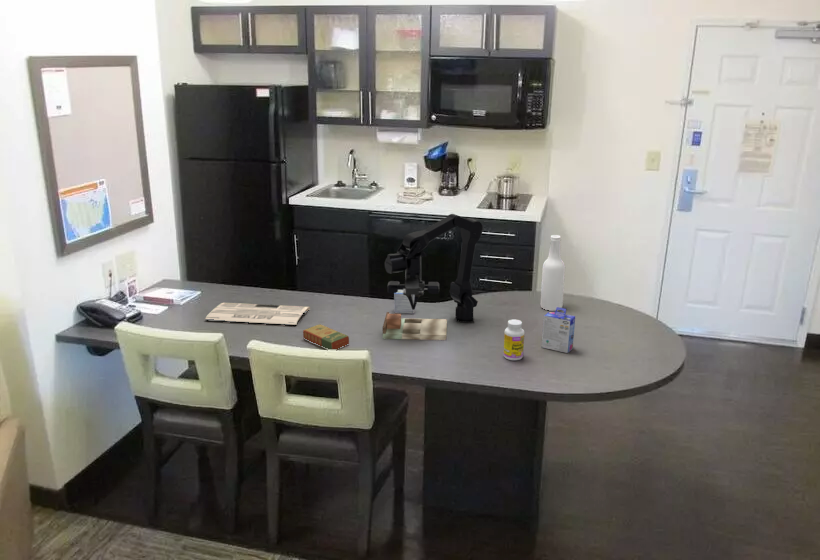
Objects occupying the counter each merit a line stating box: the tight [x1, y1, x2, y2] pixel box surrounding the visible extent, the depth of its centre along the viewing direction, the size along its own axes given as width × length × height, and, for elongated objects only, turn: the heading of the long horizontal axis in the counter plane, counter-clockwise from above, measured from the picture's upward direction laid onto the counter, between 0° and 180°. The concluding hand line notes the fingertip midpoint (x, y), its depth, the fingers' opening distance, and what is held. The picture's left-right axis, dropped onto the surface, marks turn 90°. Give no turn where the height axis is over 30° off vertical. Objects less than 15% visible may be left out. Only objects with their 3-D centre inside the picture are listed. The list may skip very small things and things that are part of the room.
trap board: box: [382, 311, 448, 341], centre depth 249 cm, size 23×15×4 cm, turn 86°
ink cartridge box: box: [541, 307, 576, 354], centre depth 232 cm, size 10×6×14 cm, turn 58°
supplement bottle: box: [503, 318, 525, 361], centre depth 226 cm, size 7×7×13 cm
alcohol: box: [540, 234, 566, 312], centre depth 266 cm, size 9×9×30 cm
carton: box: [302, 323, 350, 349], centre depth 240 cm, size 8×16×4 cm, turn 47°
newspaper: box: [205, 302, 311, 325], centre depth 265 cm, size 37×19×3 cm, turn 81°
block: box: [387, 313, 402, 329], centre depth 248 cm, size 5×5×4 cm
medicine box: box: [393, 290, 416, 315], centre depth 267 cm, size 8×4×9 cm, turn 84°
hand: (413, 309), depth 247 cm, fingers closed
